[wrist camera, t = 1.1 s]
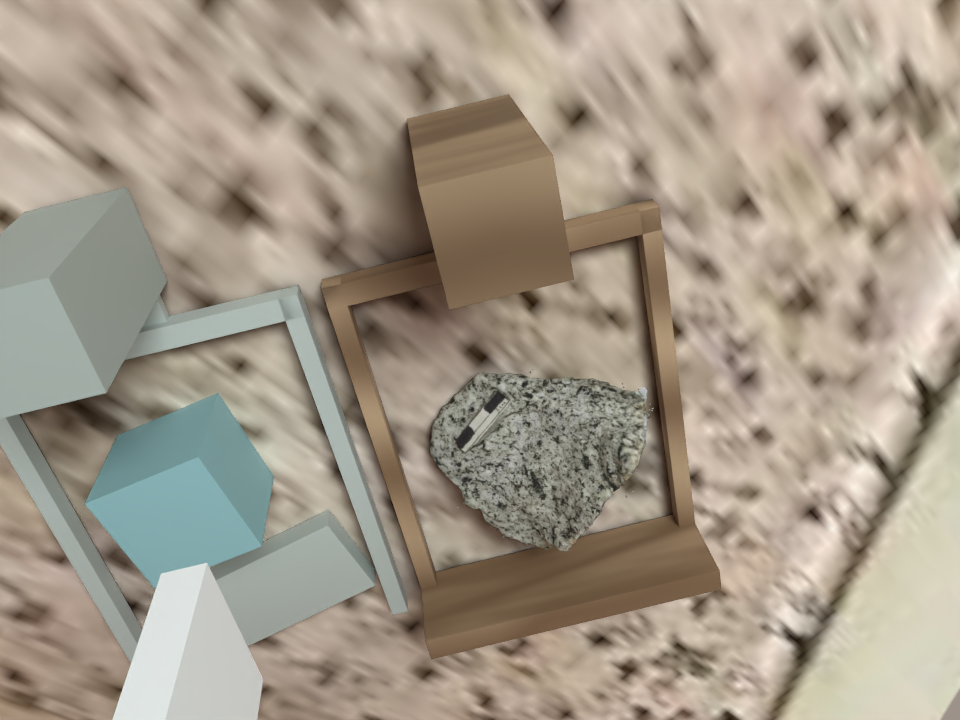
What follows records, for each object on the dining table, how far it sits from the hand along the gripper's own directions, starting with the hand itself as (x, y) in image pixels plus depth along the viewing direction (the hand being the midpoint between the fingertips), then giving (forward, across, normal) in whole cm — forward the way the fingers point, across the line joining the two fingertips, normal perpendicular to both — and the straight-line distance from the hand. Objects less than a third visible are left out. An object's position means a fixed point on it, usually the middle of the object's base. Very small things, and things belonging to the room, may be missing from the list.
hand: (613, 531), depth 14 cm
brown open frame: (+22, 0, -9) cm, 24 cm away
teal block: (+23, -15, -10) cm, 29 cm away
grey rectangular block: (+23, -15, -18) cm, 32 cm away
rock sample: (+23, -1, -13) cm, 26 cm away
